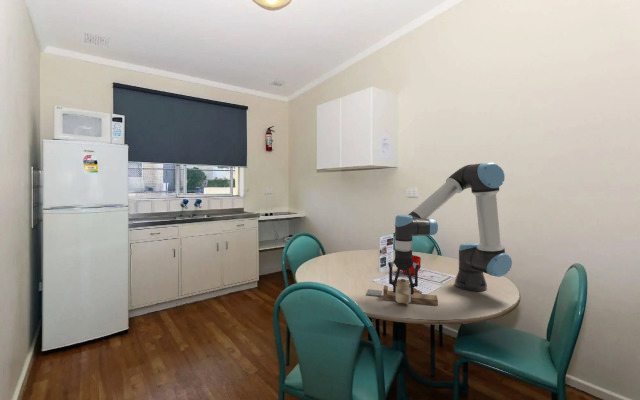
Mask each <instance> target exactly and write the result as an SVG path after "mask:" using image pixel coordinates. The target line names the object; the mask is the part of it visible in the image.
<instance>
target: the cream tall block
mask: <svg viewBox="0 0 640 400" xmlns="http://www.w3.org/2000/svg"><path fill="white" fill-rule="evenodd" d="M397 280H398V281H397V301H396V303H400V304H410V302H409V284H410V282H409V279H406V278H400V279H399V278H398V279H397Z"/></svg>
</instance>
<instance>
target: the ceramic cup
mask: <svg viewBox="0 0 640 400" xmlns="http://www.w3.org/2000/svg"><path fill="white" fill-rule="evenodd" d="M412 260H413V263H416V264H417V263H418V264H419V268H418V271H420V269H421V262H422V258H421V257H420V256H418V255H416V254H415V255H414V254H412ZM401 271H402V273H403V274H405V275H408V274H407V271H405V270H401ZM410 273H411V276H412V275H414V276H415V268H414V266H413V265H412V266H411V268H410Z"/></svg>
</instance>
